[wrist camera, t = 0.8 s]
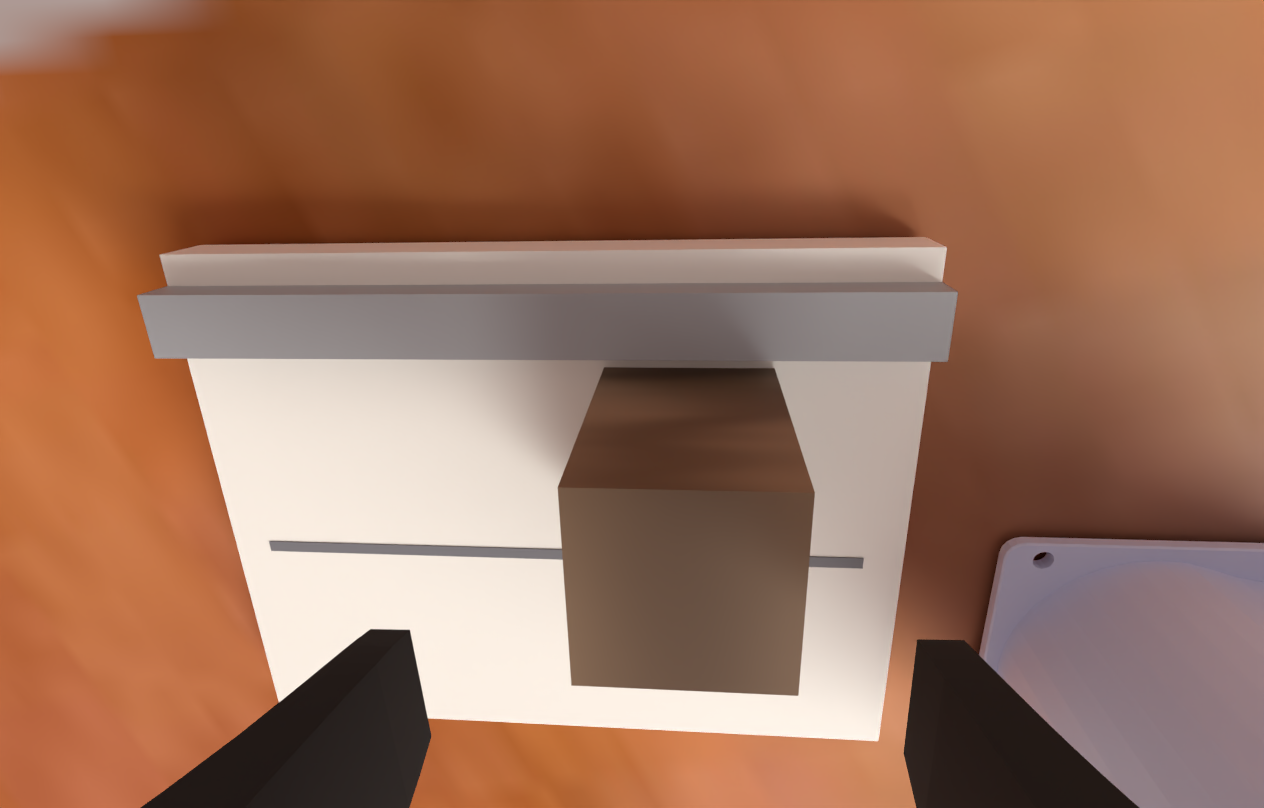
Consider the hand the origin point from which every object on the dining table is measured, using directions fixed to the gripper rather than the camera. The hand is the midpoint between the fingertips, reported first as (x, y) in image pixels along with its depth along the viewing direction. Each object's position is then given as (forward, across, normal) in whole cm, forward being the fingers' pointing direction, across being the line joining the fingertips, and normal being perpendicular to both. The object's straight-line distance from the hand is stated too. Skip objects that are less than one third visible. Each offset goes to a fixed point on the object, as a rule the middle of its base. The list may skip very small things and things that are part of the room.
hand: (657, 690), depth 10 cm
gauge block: (+8, 0, 0) cm, 8 cm away
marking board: (+9, +3, +2) cm, 10 cm away
